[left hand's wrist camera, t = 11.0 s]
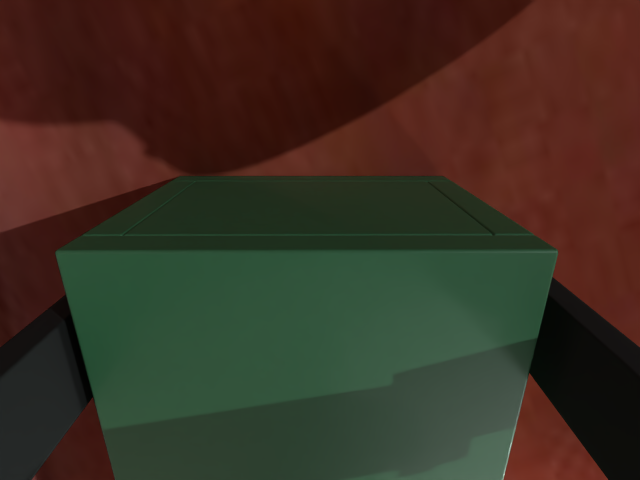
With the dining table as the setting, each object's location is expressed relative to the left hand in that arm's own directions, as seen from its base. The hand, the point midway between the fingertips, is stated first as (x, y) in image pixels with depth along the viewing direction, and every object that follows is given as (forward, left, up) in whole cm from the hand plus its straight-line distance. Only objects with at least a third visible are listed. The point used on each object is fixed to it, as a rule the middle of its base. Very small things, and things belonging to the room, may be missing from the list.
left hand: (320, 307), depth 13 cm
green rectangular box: (+7, -1, -5) cm, 8 cm away
